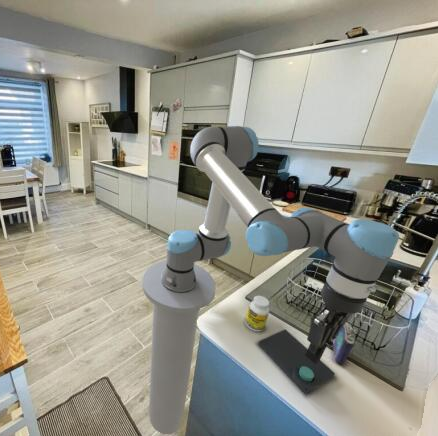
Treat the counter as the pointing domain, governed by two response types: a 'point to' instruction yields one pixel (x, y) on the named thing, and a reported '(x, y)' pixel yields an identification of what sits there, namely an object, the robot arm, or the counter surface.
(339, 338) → the flask
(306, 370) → the scale button
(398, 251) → the counter surface
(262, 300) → the pill bottle
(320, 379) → the scale
